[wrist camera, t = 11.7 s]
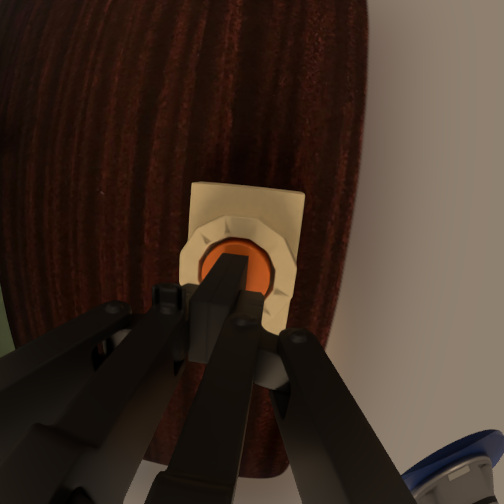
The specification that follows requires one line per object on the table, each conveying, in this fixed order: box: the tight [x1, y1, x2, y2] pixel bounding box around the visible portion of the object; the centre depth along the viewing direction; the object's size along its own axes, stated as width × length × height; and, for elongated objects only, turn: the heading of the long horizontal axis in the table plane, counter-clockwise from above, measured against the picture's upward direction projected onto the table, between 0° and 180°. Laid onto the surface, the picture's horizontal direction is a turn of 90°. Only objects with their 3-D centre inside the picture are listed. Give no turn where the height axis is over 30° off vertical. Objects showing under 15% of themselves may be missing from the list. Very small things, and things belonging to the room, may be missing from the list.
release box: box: [179, 182, 305, 335], centre depth 20 cm, size 10×7×4 cm
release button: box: [201, 237, 271, 295], centre depth 18 cm, size 4×4×2 cm
